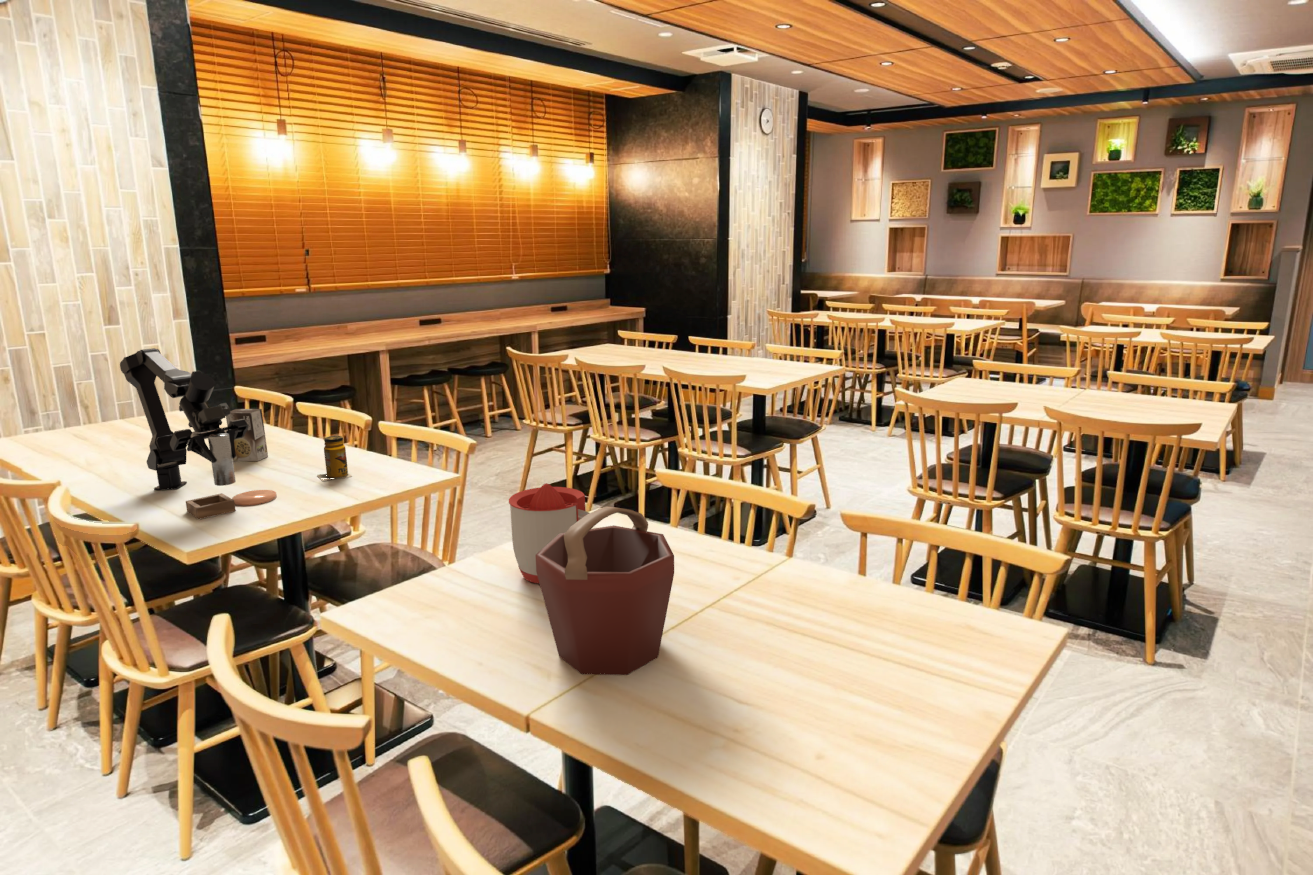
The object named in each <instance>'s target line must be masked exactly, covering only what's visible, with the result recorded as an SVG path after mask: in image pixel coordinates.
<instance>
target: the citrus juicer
mask: <svg viewBox="0 0 1313 875" xmlns="http://www.w3.org/2000/svg"><path fill="white" fill-rule="evenodd" d="M508 504H509V507H510V525H511V538H512V539H511V540H512V541H511V542H512V547H513V548H512V549H513V552H514V558H515V561H516V563H517V565H518V569H519V571H520V573H521V575H522V577H523V579H525V580H526V581H528V582H531V583H535V584H539V585H540V583H539V580H538V576H537V572H536V554H537V553H538V552H539V551H540V550H541V549H543V548H544V547H545V546H546V545H547V544H548V543H549V542H550V541H552V540H553V539H554V538H555V537H556V536H557V535H558V534H561V533H566V532H567V531H568V529H569V528H570V527H571V526H572V525H573V524H575V523H576V522H577V521H579V520H580V519H582V518H583V517H584V516H586V515H587V514H589V513H590V512H588V511H586V510H587V509H586V495H585V494H584V492H582V491H581V490H580V489H579V490H578V489H576V488H571V487H564V486H552V485H551V484H549V483H547V482H546V483H544V484H543V485H541V486H540V487H535V488H529V489H525V490H521V491H518V492H516V493H513V495H511V496H510V497H509V499H508Z"/></svg>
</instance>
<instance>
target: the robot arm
mask: <svg viewBox="0 0 1313 875" xmlns="http://www.w3.org/2000/svg"><path fill="white" fill-rule="evenodd" d="M119 368H120V369H119V370H120V371H121V373H122V374H123V375H124V377H125V380H126V382H128V383H129V384H131V386H132V387H134V388H135V389H136V392H137V395H138V398H139V400H140V403H141V406H142V408H143V412H144V415H145V418H146V421H147V424H148V427H149V429H150V433H151V440H150V442H149V446H148V447H149V451H150V452H149V453H148V457H147V460H146V466H147V468H148V469H149V470H152V471H156V476H157V483H158V485H157V486H155V487H154V488H153V490H154V491H161V490H162V491H163V490H178V489H180V488H181V487H183V486H185V485H186V484H187V483H188V482H187V480H186V481H182V478H181V471H180V466H183V465H186V464H187V452H193V453H194V454H196V455H199V456H200V457H202V458H204V459H206V460H207V461H209V462H212V463H215V459H214V456H213V455H212V453H211V451H210V449H209V446H208V445H207V444H206V441H205V440H208V436H209V435H212V434H218V433H228V434H229V437H230V444H231V451H232V458H235V457H236V454H235V445H234V440H235V439H239V438H242V437H244V436H245V433H246V431H247V429H248V427H249V424H248V423H247V421H246V420H245V419H239V420H233V421H230V422H229V425H228V427H227V426H224V427H220V426H222V424H223V421H222V420H223V419H226V416H228V415H229V414H230V411H231V409H230V406H229V405H228V404H227V402H223V403H220V404H218V405H216V406H211V407H208V405H207V402H208V401H209V399H210V397H211V395H212V393H213V391H214V388H215V385H216V381H215V379H214V377H212V376H210V375H208V374H206V373H202V371H201V370H194V371H192V372H189V371H187V370H182V369H179V368H177V367H176V366H175V365H174V364H173V363H171V361H169V359H167V357H165V356H164V355H163V354H161V350H160V349H159V348H155V347H154V348H152V347H151V348H146V349H144V348H143V349H139V350H137V351H136V352H135V353H133V354H131V355H128V356H125V357H123V359H122V360H121V361H120V362H119ZM157 377H158V379H159V380H160V381H162V382H163V383H164V384H163V390H165V392H166V394H167V395H168V396H169V397H170V398H172V399H177V398H181V399H180V400H179V405H178V411H179V412H183V413H184V415H185V416H186V418H187V420H188V424H187V425H188V427H189V428H185V429H181V430H176V431H174V432H173V431H172V430H171V427H170V424H169V422H168V419H167V416H166V412H165V409H164V407H163V403H162V400H161V398H160V396H159V392H158V388H157V386H156V383H155V382H156V378H157ZM191 428H192V429H193V431H192V429H191ZM212 463H211V464H212Z"/></svg>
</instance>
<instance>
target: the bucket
mask: <svg viewBox="0 0 1313 875" xmlns="http://www.w3.org/2000/svg"><path fill="white" fill-rule="evenodd" d="M617 513H619V514H622V515H626V516H627V517H628V519H630V521H631V522H632V524H633V526H632V527H625V526H618V525H608V526H602V527H595V526H596V525H597V524H599V523H600V522H601V521H603V520H604V519H605V518H608V517H609V516H612V515H615V514H617ZM593 527H595V528H593ZM648 529H649V522H648V520H647V519H646V517H645V516H644V515H643V514H642V513H641V512H638V511H634V510H633V509H629V508H620V507H614V506H607V505H606V506H604V507H601V508H599V509H596V510H594V511H592V512H589V514H587V515H586V516H584V517H583V518H582V519H580V520H579V521H577V522H576V523H575V524H573V525H572V526H571V527H570V528H569V529H568V531H567V532H566V533H561V534H558V535H557V536H556V537H555V538H554V539H553V540H552V541H550V542H549V543H548V544H547V545H546V546H545V547H544V548H543V549H541V550H540V551H539V552H538V553H537V554H536V572H537V576H538V580H539V583H540V584H539V583H538V584H539V587H540V590H541V595H542V598H543V601H544V605H545V610H546V613H547V616H548V619H549V624H550V628H551V631H552V632H551V633H552V635H553V639H554V643H555V646H556V650H557V654H558V656H559V658H561V659H562V660H563V661H564V662H565V663H567V664H568V665H569V666H570V667H572V668H573V669H574V670H575V671H577V673H579V674H580V675H598V676H599V675H600V676H601V675H605V676H606V675H608V676H612V675H613V676H628V675H630V674H632V673H633V672H635V671H637V670H638V669H640V668H642V667H644V666H646V665H647V664H649V663H650V662H652V661H654V660H656V659H658V658H659V653H660V648H661V644H662V638H663V632H664V629H665V623H666V617H667V612H668V607H669V602H670V599H671V598H670V596H671V591H672V588H673V587H672V586H673V581H674V577H675V554H674V553H673V551H672V548H671V546H670V545H669V543H668V541H667V538H666V537H665V535H664V534H663V533H658V532H653V531H648Z"/></svg>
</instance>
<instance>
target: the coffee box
mask: <svg viewBox="0 0 1313 875" xmlns="http://www.w3.org/2000/svg"><path fill="white" fill-rule="evenodd" d="M263 416H264V415H263V409H262V408H235V409H233V410H230V414H229V415H228V416H225V421H226V425H227V426H226V427H228V425H229V422H230V421H233V420H239V419H245V420H246V421H247V423H248V424H249V427H248V429H247V431H246V433H245V436H244V437H242V438H239V439H235V440H234V445H235V454H236V457H235V458H233V462H260V461H261V460H263V459H267V458H268V457H269V453H268V446H267V440H266V439H267V438H266V433H265V423H264V418H263Z"/></svg>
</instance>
